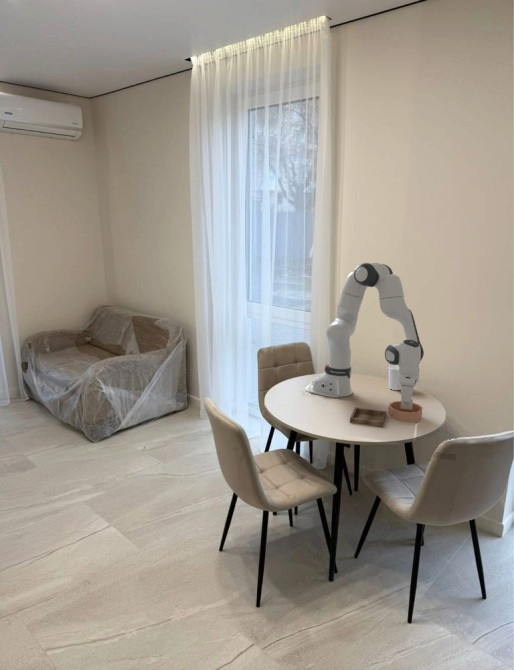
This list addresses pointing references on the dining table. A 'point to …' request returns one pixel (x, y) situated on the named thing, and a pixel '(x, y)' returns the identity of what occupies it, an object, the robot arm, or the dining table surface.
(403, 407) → the off-white cube block
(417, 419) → the terracotta bowl
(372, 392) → the dining table surface
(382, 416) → the walnut tray
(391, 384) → the candle holder
